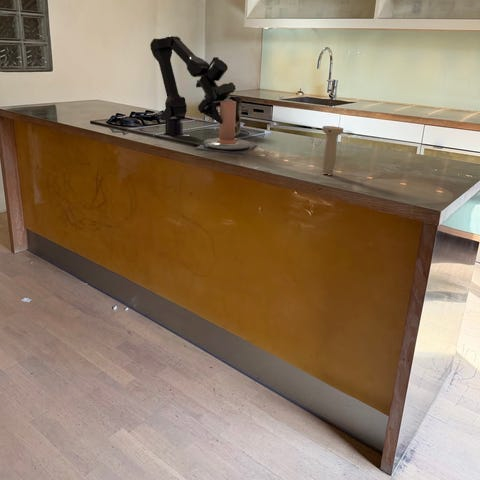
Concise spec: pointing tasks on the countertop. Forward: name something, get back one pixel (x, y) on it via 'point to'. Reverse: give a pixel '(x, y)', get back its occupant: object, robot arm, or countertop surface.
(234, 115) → the pink tall cylinder
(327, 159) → the handle
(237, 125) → the coffee box
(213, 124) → the countertop surface
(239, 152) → the base
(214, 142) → the turntable disk
